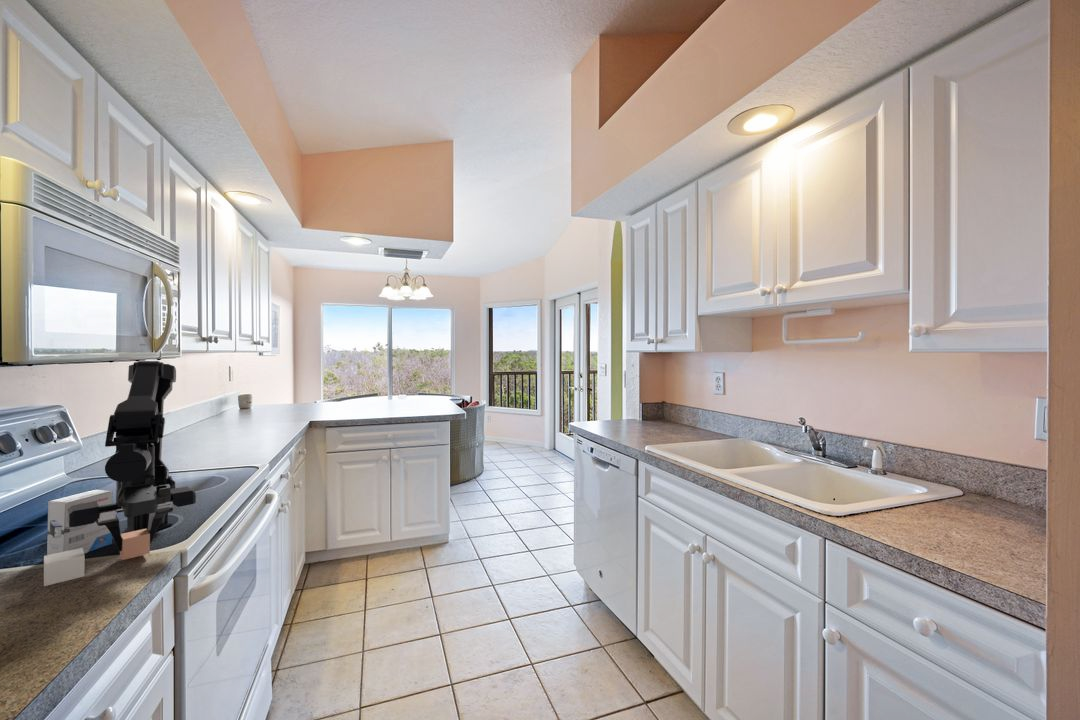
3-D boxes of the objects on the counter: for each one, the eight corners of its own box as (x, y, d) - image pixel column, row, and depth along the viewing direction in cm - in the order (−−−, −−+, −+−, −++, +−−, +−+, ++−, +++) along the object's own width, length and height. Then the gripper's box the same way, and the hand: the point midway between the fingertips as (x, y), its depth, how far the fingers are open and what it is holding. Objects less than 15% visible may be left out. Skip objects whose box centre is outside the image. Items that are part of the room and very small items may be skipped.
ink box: (95, 541, 98) (96, 488, 98) (113, 544, 97) (114, 490, 97) (45, 559, 89) (46, 500, 89) (64, 561, 88) (65, 502, 88)
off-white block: (82, 568, 86) (82, 547, 86) (84, 576, 83) (84, 555, 83) (43, 577, 82) (44, 555, 82) (44, 587, 79) (44, 564, 79)
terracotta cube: (146, 547, 93) (146, 528, 93) (149, 553, 90) (149, 533, 90) (119, 553, 90) (120, 534, 90) (122, 559, 87) (123, 539, 87)
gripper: (72, 488, 78) (71, 577, 78) (203, 468, 92) (202, 544, 92) (67, 476, 85) (66, 558, 85) (189, 460, 99) (188, 530, 99)
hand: (134, 547), depth 90 cm, fingers closed on terracotta cube, 4 cm apart
